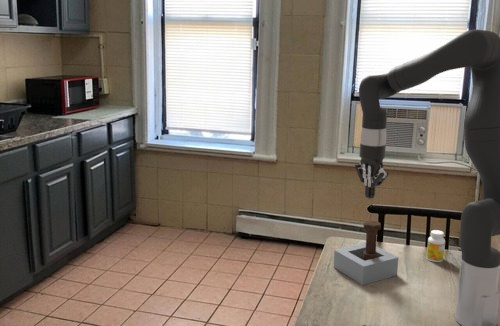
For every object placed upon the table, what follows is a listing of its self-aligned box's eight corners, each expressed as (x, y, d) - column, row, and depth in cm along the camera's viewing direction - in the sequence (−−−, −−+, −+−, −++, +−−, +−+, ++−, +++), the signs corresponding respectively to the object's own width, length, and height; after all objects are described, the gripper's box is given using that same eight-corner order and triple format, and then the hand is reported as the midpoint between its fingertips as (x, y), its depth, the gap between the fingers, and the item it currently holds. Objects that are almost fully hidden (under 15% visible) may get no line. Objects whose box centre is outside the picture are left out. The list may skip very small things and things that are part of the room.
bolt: (378, 272, 163) (381, 226, 160) (362, 271, 163) (364, 225, 161) (377, 265, 168) (379, 220, 166) (361, 264, 169) (363, 219, 166)
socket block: (397, 275, 165) (398, 257, 164) (362, 284, 158) (363, 266, 157) (367, 258, 177) (368, 242, 175) (333, 267, 170) (334, 250, 169)
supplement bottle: (422, 257, 178) (425, 230, 176) (435, 254, 180) (437, 228, 178) (434, 263, 174) (437, 236, 171) (446, 260, 176) (449, 233, 173)
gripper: (398, 145, 154) (394, 201, 158) (367, 137, 165) (364, 190, 169) (378, 147, 150) (374, 205, 154) (349, 139, 162) (346, 193, 166)
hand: (369, 197), depth 162 cm, fingers closed
